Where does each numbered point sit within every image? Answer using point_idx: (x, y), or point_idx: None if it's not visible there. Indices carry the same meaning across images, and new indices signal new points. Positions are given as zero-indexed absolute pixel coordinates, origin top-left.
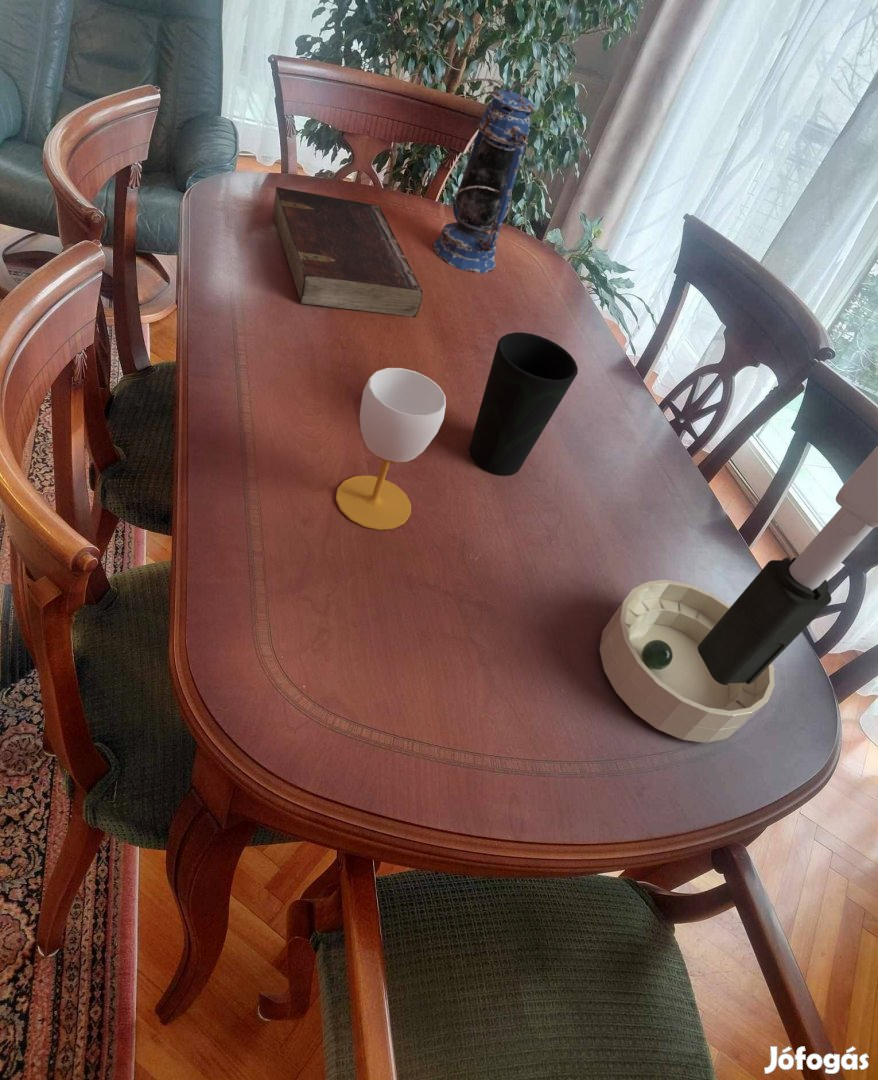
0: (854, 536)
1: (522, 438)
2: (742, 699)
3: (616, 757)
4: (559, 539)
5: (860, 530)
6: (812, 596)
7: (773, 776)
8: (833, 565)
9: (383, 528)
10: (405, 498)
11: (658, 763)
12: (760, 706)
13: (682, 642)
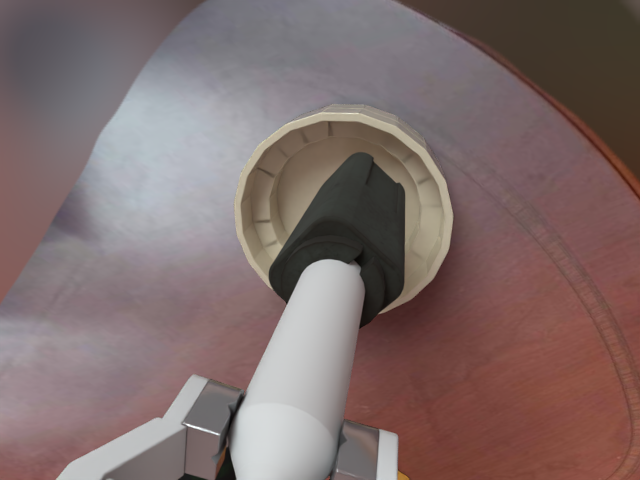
0: (341, 391)
1: (221, 470)
2: (349, 130)
3: (508, 215)
4: None
5: (396, 453)
6: (376, 264)
7: (396, 35)
8: (347, 311)
9: (403, 475)
10: None
11: (483, 172)
12: (377, 120)
13: (294, 209)
